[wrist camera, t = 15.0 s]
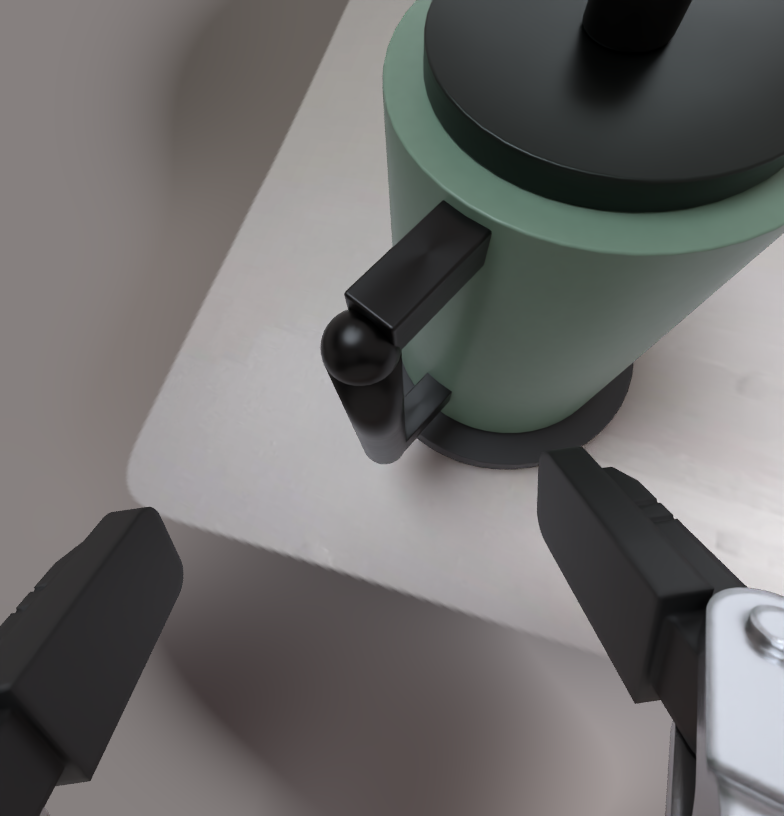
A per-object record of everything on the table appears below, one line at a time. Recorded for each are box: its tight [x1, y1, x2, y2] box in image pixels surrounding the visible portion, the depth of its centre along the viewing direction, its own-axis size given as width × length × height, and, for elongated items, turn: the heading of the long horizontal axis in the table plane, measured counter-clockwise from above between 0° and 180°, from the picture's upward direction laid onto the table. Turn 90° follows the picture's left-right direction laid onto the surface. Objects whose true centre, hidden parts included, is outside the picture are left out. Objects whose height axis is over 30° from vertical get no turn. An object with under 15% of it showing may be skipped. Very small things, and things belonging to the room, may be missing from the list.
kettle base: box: [402, 361, 634, 469], centre depth 23 cm, size 14×14×1 cm
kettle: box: [321, 0, 784, 464], centre depth 15 cm, size 19×11×15 cm, turn 138°
